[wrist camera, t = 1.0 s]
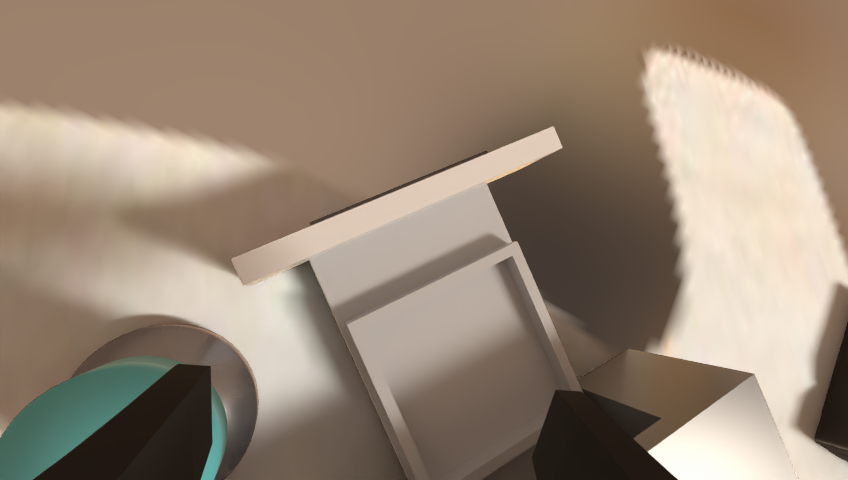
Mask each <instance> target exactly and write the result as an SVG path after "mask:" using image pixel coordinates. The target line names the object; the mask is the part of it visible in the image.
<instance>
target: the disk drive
mask: <svg viewBox="0 0 848 480" xmlns="http://www.w3.org/2000/svg"><path fill="white" fill-rule="evenodd" d="M815 442H816V443H818V444H821V446H824V447H825V448H827V449H828V450H829V451H830V452H831V453H833V454H835V455H836V456H838V457H839V458H841V459H843V460H846V461H848V323H847V326H846V330H845V333H844V337H843V340H842V344H841V347H840V351H839V354H838V357H837V361H836V364H835V368H834V371H833V375H832V378H831V382H830V385H829V388H828V392H827V396H826V399H825V402H824V406H823V410H822V415H821V419H820V422H819V425H818V428H817V431H816V435H815Z"/></svg>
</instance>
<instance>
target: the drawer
mask: <svg viewBox="0 0 848 480" xmlns="http://www.w3.org/2000/svg"><path fill="white" fill-rule="evenodd" d="M561 148H562V145H561V143H560V140H559V139H558V136H557V134H556V131H555V129H554V127H551V128H548V129H546V130H543V131H541V132H539V133H536V134H533V135H531V136H529V137H526V138H524V139H521V140H519V141H517V142H514V143H512V144H509V145H507V146H504V147H502V148H499V149H497V150H494V151H492V152H490V153H488V152H487V151H484V152H482V153H479V154H478V155H474V156H472V157H470V158H467V159H465V160H462V161H460V162H457V163H455V164H452V165H450V166H447V167H445V168H443V169H440V170H438V171H435V172H433V173H431V174H428V175H426V176H423V177H421V178H418V179H416V180H413V181H411V182H408V183H406V184H403V185H401V186H398V187H396V188H394V189H391V190H389V191H387V192H384V193H381V194H379V195H376V196H374V197H372V198H369V199H367V200H364V201H362V202H359V203H357V204H354V205H352V206H349V207H347V208H345V209H342V210H340V211H337V212H335V213H332V214H330V215H327V216H325V217H323V218H320V219H318V220H315V221H313V222H310V226H309V227H307V228H304V229H302V230H300V231H297V232H295V233H292V234H290V235H287V236H285V237H283V238H280V239H278V240H275V241H273V242H270V243H268V244H266V245H263V246H261V247H258V248H256V249H253V250H251V251H248V252H246V253H244V254H241V255H239V256H236V257H234V258H231V261H232V263H233V265H234V267H235V270H236V272H237V274H238V276H239V278H240V280H241V283H242V285H254V284H256V283H258V282H261V281H263V280H265V279H268V278H270V277H272V276H275V275H277V274H279V273H282V272H284V271H286V270H288V269H291V268H293V267H295V266H298V265H300V264H302V263H305V262H307V261H309V263H310V265H311V267H312V270H313V272H314V274H315V276H316V278H317V281H318V283H319V285H320V287H321V290H322V292H323V294H324V296H325V298H326V301H327V303H328V305H329V307H330V309H331V312H332V314H333V316H334V318H335V320H336V323H337V325H338V327H339V329H340V331H341V334H342V336H343V338H344V340H345V342H346V345H347V347H348V349H349V351H350V353H351V356H352V358H353V360H354V362H355V365H356V367H357V369H358V371H359V373H360V376H361V378H362V380H363V382H364V384H365V387H366V389H367V391H368V393H369V395H370V398H371V400H372V402H373V404H374V406H375V409H376V411H377V413H378V415H379V417H380V420H381V422H382V424H383V426H384V428H385V431H386V433H387V435H388V437H389V440H390V442H391V444H392V446H393V448H394V451H395V453H396V455H397V457H398V459H399V462H400V464H401V466H402V468H403V470H404V473H405V475H406V477H407V479H408V480H537V479H536V475H535V470H534V466H533V461H532V455H533V452H534V450H535V447H536V444H537V441H538V438H539V435H540V432H541V430H542V427H543V424H544V421H545V418H546V415H547V413H548V410H549V407H550V404H551V401H552V398H553V395H554V393H555V390H568V391H581V392H583V391H582V389H581V386H580V384H579V382H578V379H577V377H576V375H575V373H574V370H573V368H572V366H571V363H570V361H569V359H568V357H567V354H566V352H565V350H564V347H563V345H562V343H561V340H560V338H559V336H558V334H557V331H556V329H555V327H554V324H553V322H552V320H551V318H550V315H549V313H548V311H547V308H546V306H545V304H544V302H543V299H542V297H541V295H540V292H539V290H538V288H537V286H536V283H535V281H534V279H533V277H532V274H531V272H530V270H529V267H528V265H527V263H526V260H525V258H524V256H523V254H522V251H521V249H520V247H519V244H518V242H517V241H516V242H512V241H511V239H510V236H509V234H508V232H507V230H506V227H505V225H504V223H503V220H502V218H501V216H500V214H499V211H498V209H497V207H496V204H495V202H494V200H493V198H492V195H491V193H490V191H489V189H488V186H487V183H489V182H491V181H494V180H496V179H498V178H501V177H503V176H505V175H508V174H510V173H512V172H515V171H517V170H519V169H521V168H523V167H525V166H527V165H529V164H531V163H533V162H535V161H537V160H539V159H541V158H543V157H545V156H547V155H549V154H551V153H553V152H555V151H557V150H559V149H561Z"/></svg>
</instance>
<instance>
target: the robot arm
mask: <svg viewBox="0 0 848 480" xmlns="http://www.w3.org/2000/svg"><path fill="white" fill-rule="evenodd" d="M212 443H213V440H212V397H211V366H204V365H189V364H177V365H176V366H174V367H173V368H171V369H170V370H169V371H168V372H167V373H165V374H164V375H163V376H162V377H161V378H159V379H158V380H157V381H156V382H155V383H153V384H152V385H151V386H150V387H149V388H148V389H146V390H145V391H144V392H143V393H142V394H140V395H139V396H138V397H137V398H136V399H134V400H133V401H132V402H131V403H130V404H128V405H127V406H126V407H125V408H124V409H122V410H121V411H120V412H119V413H118V414H116V415H115V416H114V417H113V418H111V419H110V420H109V421H108V422H106V423H105V424H104V425H103V426H101V427H100V428H99V429H98V430H96V431H95V432H94V433H93V434H91V435H90V436H89V437H88V438H86V439H85V440H84V441H83V442H81V443H80V444H79V445H78V446H76V447H75V448H74V449H73V450H71V451H70V452H69V453H67V454H66V455H65V456H64V457H62V458H61V459H60V460H58V461H57V462H56V463H54V464H53V465H52V466H50V467H49V468H47V469H46V470H45V471H43V472H42V473H41V474H39V475H38V476H37V477H35V478H34V479H33V480H201V477H202V474H203V471H204V468H205V465H206V462H207V459H208V456H209V453H210V450H211V447H212ZM532 461H533V466H534V470H535V475H536V479H537V480H678V479H677V478H676V477H675V476H673V475H672V474H671V473H670V472H669V471H668V470H667V469H666V468H665V467H663V466H662V465H661V464H660V463H659V462H658V461H657V460H656V459H655V458H654V457H652V456H651V455H650V454H649V453H648V452H647V451H646V450H645V449H644V448H643V447H642V446H641V445H640V444H638V443H637V442H636V441H635V440H634V439H633V438H632V437H631V436H630V435H629V434H628V433H627V432H626V431H625V430H623V429H622V428H621V427H620V426H619V425H618V424H617V423H616V422H615V421H614V420H613V419H612V418H611V417H610V416H608V415H607V414H606V413H605V412H604V411H603V410H602V409H601V408H600V407H599V406H598V405H597V404H595V403H594V402H593V401H592V400H591V399H590V398H589V397H587V396H586V395H585V394H584V393H583V392H581V391H568V390H555V393H554V395H553V398H552V401H551V404H550V407H549V410H548V413H547V415H546V418H545V421H544V424H543V427H542V430H541V432H540V435H539V438H538V441H537V444H536V447H535V450H534V452H533V455H532Z"/></svg>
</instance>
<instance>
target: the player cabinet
mask: <svg viewBox="0 0 848 480" xmlns="http://www.w3.org/2000/svg"><path fill="white" fill-rule="evenodd" d="M578 382H579V384H580V386H581V389H582V391H583V393H584V394H585V395H586V396H587V397H589V398H590V399H591V400H592V401H593V402H594V403H595V404H597V405H598V406H599V407H600V408H601V409H602V410H603V411H604V412H605V413H606V414H607V415H608V416H610V417H611V418H612V419H613V420H614V421H615V422H616V423H617V424H618V425H619V426H620V427H621V428H622V429H623V430H625V431H626V432H627V433H628V434H629V435H630V436H631V437H632V438H633V439H634V440H635V441H636V442H637V443H638V444H640V445H641V446H642V447H643V448H644V449H645V450H646V451H647V452H648V453H649V454H650V455H651V456H652V457H654V458H655V459H656V460H657V461H658V462H659V463H660V464H661V465H662V466H663V467H665V468H666V469H667V470H668V471H669V472H670V473H671V474H672V475H673V476H675V477H676V478H677V479H678V480H799V478H798V476H797V474H796V471H795V469H794V467H793V464H792V462H791V459H790V457H789V455H788V452H787V450H786V448H785V445H784V443H783V441H782V438H781V436H780V433H779V431H778V429H777V426H776V424H775V422H774V419H773V417H772V415H771V412H770V410H769V407H768V405H767V403H766V400H765V398H764V396H763V393H762V391H761V389H760V386H759V384H758V381H757V379H756V377H755V374H752V373H747V372H742V371H737V370H732V369H727V368H722V367H718V366H713V365H708V364H703V363H698V362H693V361H688V360H683V359H678V358H673V357H668V356H663V355H658V354H653V353H648V352H643V351H638V350H633V349H627V350H625V351H624V352H622V353H621V354H619V355H618V356H616V357H614V358H613V359H611V360H610V361H608V362H606V363H605V364H603V365H602V366H600V367H598V368H597V369H595V370H594V371H592V372H591V373H589V374H587V375H586V376H584V377H583V378H581V379H579V380H578Z"/></svg>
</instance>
